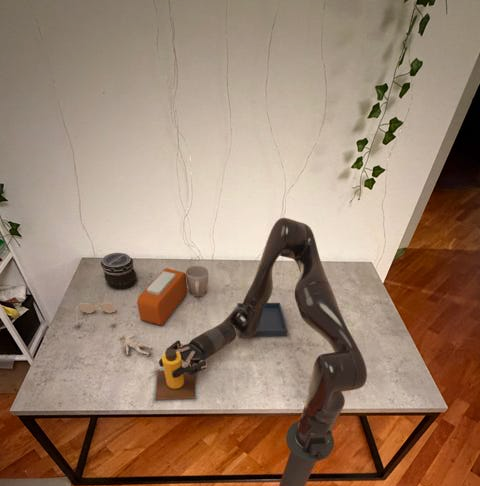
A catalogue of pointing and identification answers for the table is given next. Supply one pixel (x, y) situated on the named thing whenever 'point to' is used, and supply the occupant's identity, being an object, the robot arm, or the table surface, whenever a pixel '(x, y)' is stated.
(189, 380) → the board
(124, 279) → the container
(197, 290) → the mug
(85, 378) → the table surface
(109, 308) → the sunglasses
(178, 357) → the yellow bottle
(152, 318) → the orange box
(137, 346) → the soldier figure
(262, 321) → the tray
